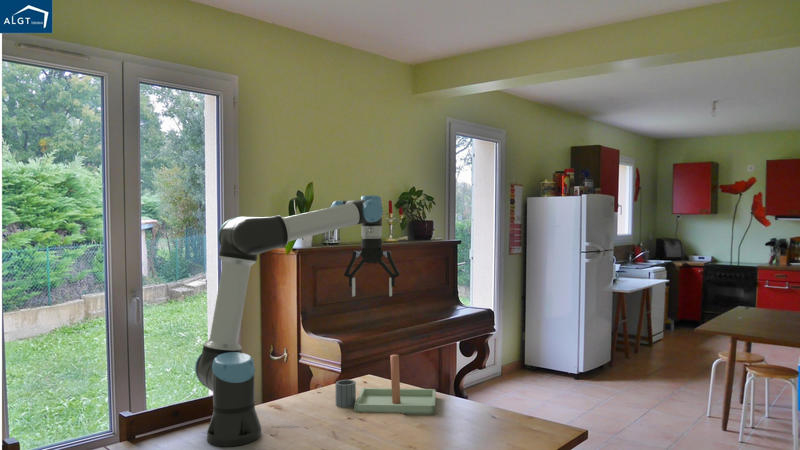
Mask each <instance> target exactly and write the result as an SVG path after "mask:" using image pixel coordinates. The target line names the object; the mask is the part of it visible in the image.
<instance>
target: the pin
mask: <svg viewBox="0 0 800 450" xmlns="http://www.w3.org/2000/svg"><path fill="white" fill-rule="evenodd" d="M389 358H390V377H391V378H390V379H391V382H390V383H391V389H392V403H393V404H399V403H401V401H400V389H401V380H400V377H401V376H400V355H399V354H391V355H390V357H389Z"/></svg>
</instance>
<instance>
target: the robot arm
mask: <svg viewBox="0 0 800 450" xmlns="http://www.w3.org/2000/svg"><path fill="white" fill-rule="evenodd" d="M383 215H384V209H383V203H382V198H381V196H380V195H361V197H360V200H359V199H357V200H356V199H355V200H344V199H343V200H335V201H333V202H332V204H331V206H330V207H327V208H323V209H317V210H313V211H308V212H303V213H299V214H298V213H297V214H295V215H290V216H281V215H274V216H264V217H263V216H261V217H260V216H236V217H233V218H229V219H227V220H226V221H225V222H224V223H223V224H222V225H221V226H220V228H219V229H218V233H217V240H218V243H219V245H220V246H219V247H220V248H219V254H218V258H219V259H220V261H221V262H222V264H221V265H222V266H221V272H220V277H219V283H218V290H217V295H216V300H215V304H214V305H215V307H214V312H213V317H212V323H211V329H210V335H209V339H207V341H205V342H204V343H203V346H202V351H201V354H200V355H199V356H198V357H197V358H196V359H197V360H196V361H195V365H194V366H195V368H194V369H195V370H194V371H195V372H194V373H195V375H196V377H197V379H198V381H199V382H200V383H201V384H202V386H204V387H205V388H207V389H208V390H210V391H211V392H212V404H213V405H212V409H213V410H212V416H211V418H210V423H209V424H208V427H207V431H206V440H207V442H208V443H209V444H210V445H213V446H216V447H222V448H223V447H224V448H225V447H226V448H227V447H229V448H230V447H239V446H242V445H243V446H244V445H247V444H250V443H252V442H255V441H257V440H258V439H259V438H261V436H262V426H261V422H260V420H259V417H258V413H257V412H256V405H255V400H256V399H255V395H256V394H255V391H256V389H255V387H256V385H255V383H256V382H255V381H256V380H255V379H256V378H255V377H256V376H255V372H256V367H255V362H254V361H255V360H254V359H253V357H252V356H251V355H249V354H247V353H245V352H242V349H243V347H242V346H241V345H240V343H239V338H240V333H241V327H242V321H243V313H244V308H245V302H246V297H247V296H246V295H247V290H248V284H249V278H250V272H251V267H252V266H253V265H255V264H256V263H257V262H258V261H257V260H258V255H260V254H262V253H266V252H268V251H271V250H275V249H279V248H281V247H286V246H287V245H288V243H289V242H292V241H297V240H299V239H300V240H301V239H304V238H309V237H312V236H317V235H320V234H324V233H328V232H331V231H335V230H336V231H337V230H341V229H344V228H348V227H353V226H356V225H360V226H361V229H360V230H361V237H362V239H360V240H361V250H360V251H357V250H354V251H352V257H351V260H349V263H348V265H347V267H346V270H345V271H344V273H343V276H344V277H346V278H348V283H349V284H348V285H349V288H352V289H351V297H355V296H356V277H354V276H355V275H356V274H357V273H358V271H359V270H360V269H361V267H363V266H364V264H365V263H366V264H377V263H378V264H379V265H380V266H381V267H382V268H383V269H384V271H385V272H386V273H387V274H388V276H390V277H389V278H388V279H389V280H388V283H389V285H388V286H389V288H388V291H389V292H388V295H389V297H392V296H393V288H394V287H395V286H396V278H398V277H400V275H401V274H400V271H399V269H398V267H397V265H396V263H395V261H394V260H393V259H394V258H392V252H391V251H390V250H387V251H383V238H381V237H382V236H383V225H382V224H383V223H382V222H383ZM359 256H360V257H361V258H362V260H361V261H360V262H359V263H358V264H357V266H355V268H354V269H353V270H352V268H353V266H354V264H355V262H356V260H357V258H359ZM383 256H384V257H385V258H387V260H388V263H389V264H390V265H391V266H390V267H391V268H392V269H390V268H389V266H388V265H387V264H386V263H385V262H384V260H383V259H382V257H383ZM392 270H393V271H392ZM351 271H352V272H351ZM350 272H351V273H350Z"/></svg>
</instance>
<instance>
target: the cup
mask: <svg viewBox="0 0 800 450" xmlns="http://www.w3.org/2000/svg"><path fill="white" fill-rule="evenodd" d="M356 389H357V381H355V380H353V379H341V380H338V381H337V380H336V382H335V406H336V407H337V408H343V409H347V408H352V407H353V408H354V404H355V402H356V400H357V390H356Z"/></svg>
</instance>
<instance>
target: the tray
mask: <svg viewBox="0 0 800 450" xmlns="http://www.w3.org/2000/svg"><path fill="white" fill-rule="evenodd" d="M436 391H437V390H436V389H435V388H433V389H432V388H400V401H401V403H399V404H393V403H392V388H384V387H383V388H382V387H381V388H379V387H378V388H377V387H376V388H375V387H370V388H369V387H362V388H361V390H360V392H359V394H358V396H357V397H356V402H355V404H354V406H353V409H354V413H396V414H397V413H398V414H401V413H402V414H403V415H408V416H409V415H414V416H415V415H416V416H417V415H419V416H422V415H423V416H424V415H425V416H435V415H436V398H437V397H436Z"/></svg>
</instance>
